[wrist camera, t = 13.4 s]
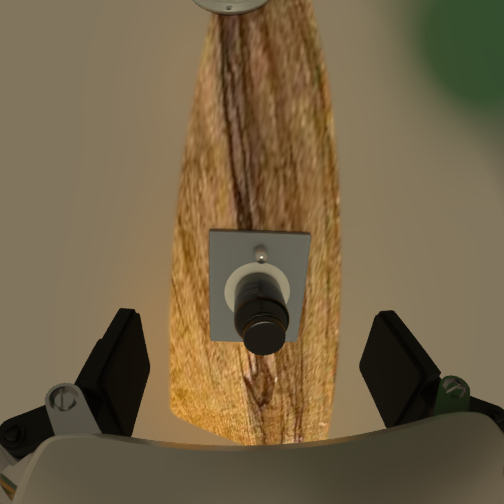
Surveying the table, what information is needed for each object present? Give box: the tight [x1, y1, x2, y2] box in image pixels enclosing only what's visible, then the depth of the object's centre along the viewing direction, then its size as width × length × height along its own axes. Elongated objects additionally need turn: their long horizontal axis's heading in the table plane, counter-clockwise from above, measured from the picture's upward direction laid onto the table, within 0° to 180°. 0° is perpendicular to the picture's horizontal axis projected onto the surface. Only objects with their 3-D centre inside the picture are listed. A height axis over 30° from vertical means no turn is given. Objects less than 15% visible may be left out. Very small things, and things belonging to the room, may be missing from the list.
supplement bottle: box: [234, 272, 290, 356], centre depth 37 cm, size 7×7×12 cm
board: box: [209, 229, 311, 342], centre depth 42 cm, size 18×14×4 cm
